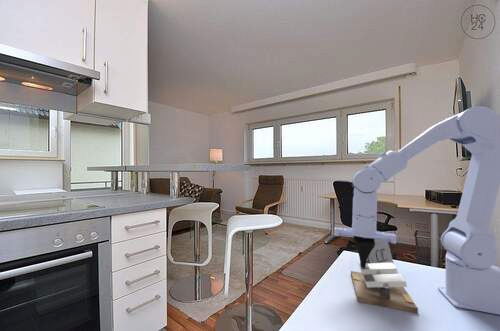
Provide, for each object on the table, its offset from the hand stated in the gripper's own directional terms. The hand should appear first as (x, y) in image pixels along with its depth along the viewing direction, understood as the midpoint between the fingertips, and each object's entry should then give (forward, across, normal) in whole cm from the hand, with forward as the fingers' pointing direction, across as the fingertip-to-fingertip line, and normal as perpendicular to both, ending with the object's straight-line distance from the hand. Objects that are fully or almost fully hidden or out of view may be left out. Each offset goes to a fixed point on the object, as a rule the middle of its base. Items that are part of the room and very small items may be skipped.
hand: (362, 265), depth 57 cm
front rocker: (0, -4, +6) cm, 7 cm away
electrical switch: (+4, -5, -10) cm, 12 cm away
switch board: (+4, -4, +3) cm, 6 cm away
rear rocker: (0, -4, 0) cm, 4 cm away
